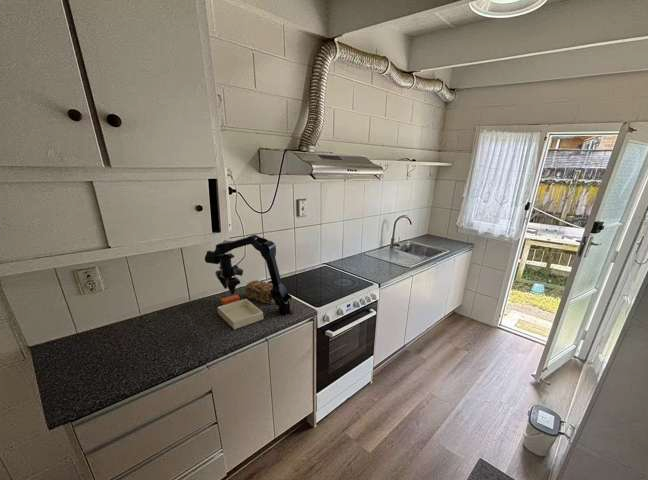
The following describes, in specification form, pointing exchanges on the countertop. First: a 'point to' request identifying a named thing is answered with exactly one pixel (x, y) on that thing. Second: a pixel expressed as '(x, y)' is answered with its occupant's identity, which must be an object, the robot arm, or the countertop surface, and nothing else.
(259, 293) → the bread
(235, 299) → the snack bar
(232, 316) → the cream rectangular tray
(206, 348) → the countertop surface
